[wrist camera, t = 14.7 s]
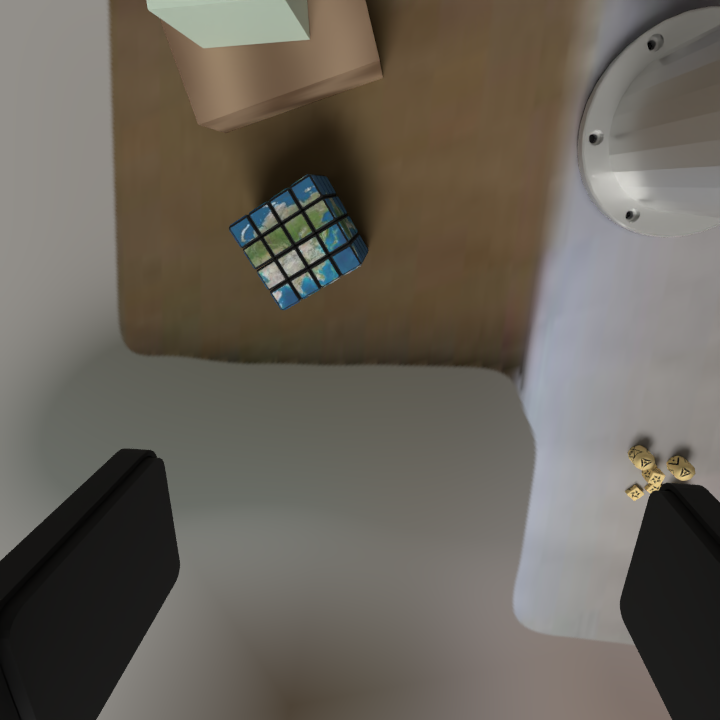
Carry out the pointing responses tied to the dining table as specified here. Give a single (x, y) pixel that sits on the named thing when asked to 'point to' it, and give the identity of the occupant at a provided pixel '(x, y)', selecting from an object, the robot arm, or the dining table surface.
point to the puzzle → (300, 240)
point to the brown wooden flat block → (278, 67)
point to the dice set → (656, 470)
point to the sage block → (235, 20)
